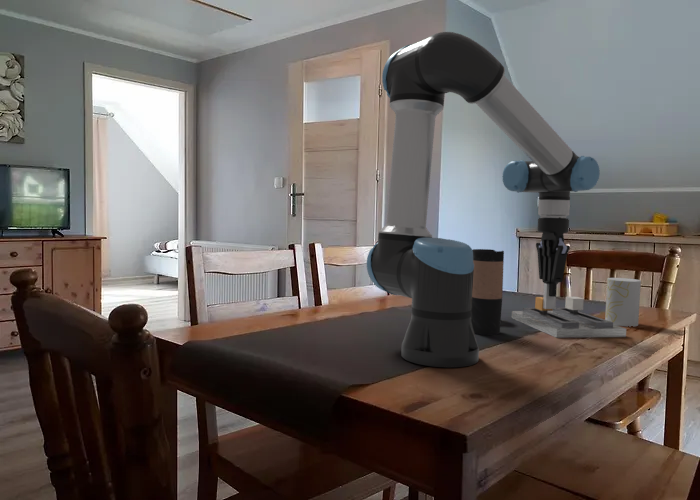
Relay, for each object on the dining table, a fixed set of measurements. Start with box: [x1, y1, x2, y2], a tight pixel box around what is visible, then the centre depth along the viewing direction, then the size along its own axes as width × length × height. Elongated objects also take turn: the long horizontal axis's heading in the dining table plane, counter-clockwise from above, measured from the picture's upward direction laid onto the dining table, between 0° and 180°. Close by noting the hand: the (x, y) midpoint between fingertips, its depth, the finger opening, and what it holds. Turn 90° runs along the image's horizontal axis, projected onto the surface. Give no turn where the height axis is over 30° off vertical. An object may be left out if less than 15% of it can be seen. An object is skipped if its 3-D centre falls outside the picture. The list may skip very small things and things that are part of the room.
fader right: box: [564, 296, 584, 315], centre depth 149 cm, size 3×4×5 cm
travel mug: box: [471, 248, 505, 336], centre depth 136 cm, size 8×8×20 cm
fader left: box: [534, 296, 553, 315], centre depth 147 cm, size 3×4×5 cm
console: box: [511, 307, 627, 339], centre depth 145 cm, size 18×24×3 cm
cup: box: [604, 277, 642, 327], centre depth 152 cm, size 8×8×12 cm
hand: (549, 308), depth 145 cm, fingers closed
